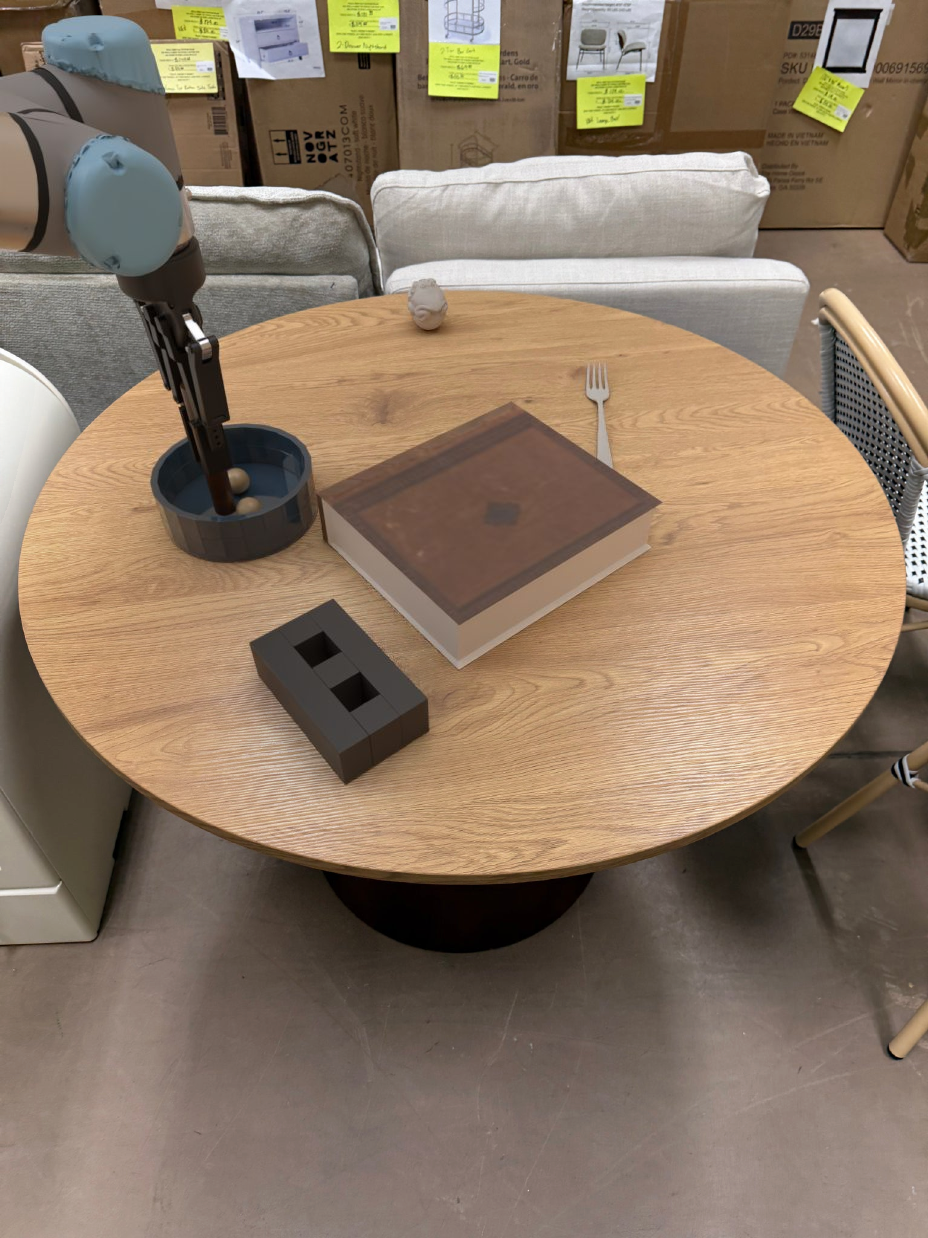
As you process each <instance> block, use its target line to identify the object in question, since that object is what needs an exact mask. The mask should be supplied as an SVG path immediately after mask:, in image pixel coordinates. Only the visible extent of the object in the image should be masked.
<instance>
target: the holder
mask: <svg viewBox="0 0 928 1238" xmlns="http://www.w3.org/2000/svg"><path fill="white" fill-rule="evenodd" d="M249 648H250V652H251V655H252V659H253V661H254V665H255V669H256V672H257V676H258V677H259V679H260V680H262V682H263V684H264V685H265V686H266V688H268V690H269V691H270V692H271V693H272V695H273V696H274V698H275V699H276V700H277V701H278V703H279V704H280V705H281V707H282V708H283V709H284V710H285V711H286V712H287V714H288V715H289V716H290V717H291V719H292V720H293V721H294V723H295V724H296V725H297V727H299V729H300V730H301V732H302V733H303V734H304V735H305V736H306V738H307V739H308V740H309V741H310V743H311V744H312V745H313V746H314V748H315V749H316V750H317V752H318V753H319V754H320V756H321V757H322V758H323V759H324V760H325V762H326V763H327V764H328V765H329V767H330V768H331V769H332V771H333V772H334V773H335V774H336V775H337V777H338V778H339V779H340V781H341V782H342V783H343V784H344V785H348V784H349V783H350V782H353V781H354V780H355V779H357V778H359V777H360V776H361V775H363V774H364V773H366V772H368V771H369V770H370V769H373V767H376V766H377V765H379V764H380V763H382V762H383V761H385V760H386V759H389V758H390V757H391V756H392V755H394V754H396V753H397V752H399V751H400V750H402V749H403V748H405V747H407V746H408V745H409V744H412V743H413V742H414V741H416V740H417V739H419V738H420V737H422V736H423V735H425V734H426V733H428V732H429V731H430V718H429V716H430V715H429V712H430V711H429V698H428V697H427V696H426V695H425V694H424V693H423V692H422V690H420V688H419V687H418V686H417V685H416V684H415V683H414V682H413V681H412V680H411V679H410V677H409V676H407V674H405V673H404V671H403V670H402V669H401V668H400V667H399V666H398V665H397V664H396V663H395V662H394V661H393V660H392V659H391V658H390V657H389V655H388V654H387V653H385V651H384V650H382V648H381V647H380V646H379V645H378V644H377V643H376V641H374V640H373V639H372V638H371V637H370V636H369V634H367V633H366V631H365V630H364V629H363V628H362V626H360V625H359V624H358V623H357V622H356V621H355V619H354V618H353V617H352V616H351V615H350V614H348V612H347V611H346V610H345V609H344V608H343V607H342V606H341V605H340V604H339V603H338V602H337V601H336V600H335V599H334V598H331V599H329V600H327V601H325V602H323V603H321V604H320V605H318V606H316V607H314V608H312V609H310V610H307V612H304V613H302V614H300V615H299V616H297V617H295V618H293V619H291V620H289V621H287V622H285V623H284V624H282V625H279V626H278V627H276V628H274V629H272V630H270V631H268V632H267V633H265V634H263V635H261V636H259V637H257V638H255V639H253V640H251V641H250V642H249Z"/></svg>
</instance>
